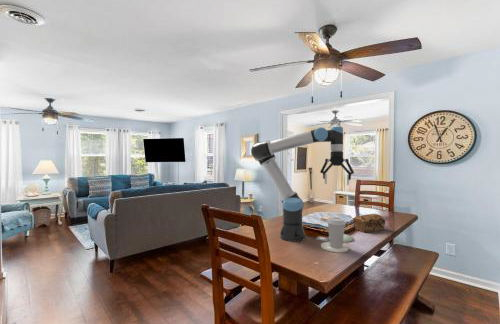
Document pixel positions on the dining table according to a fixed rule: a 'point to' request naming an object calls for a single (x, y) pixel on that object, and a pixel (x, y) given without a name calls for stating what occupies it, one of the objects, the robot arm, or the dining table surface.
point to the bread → (369, 223)
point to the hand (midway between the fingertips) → (336, 184)
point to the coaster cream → (327, 247)
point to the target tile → (322, 239)
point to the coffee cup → (336, 232)
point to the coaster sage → (347, 238)
